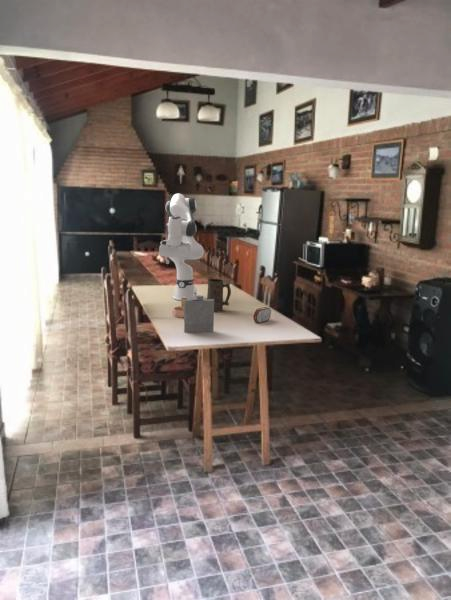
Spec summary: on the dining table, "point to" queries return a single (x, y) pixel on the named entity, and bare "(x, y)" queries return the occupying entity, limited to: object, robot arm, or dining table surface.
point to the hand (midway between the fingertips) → (174, 264)
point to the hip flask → (199, 315)
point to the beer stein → (218, 293)
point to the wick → (183, 303)
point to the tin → (262, 314)
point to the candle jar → (178, 312)
